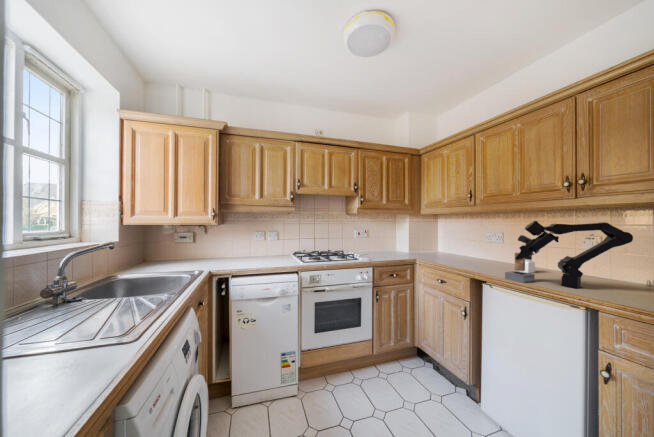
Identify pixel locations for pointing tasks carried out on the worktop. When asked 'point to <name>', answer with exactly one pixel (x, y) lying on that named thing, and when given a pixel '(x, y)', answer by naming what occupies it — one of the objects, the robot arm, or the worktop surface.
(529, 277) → the well block
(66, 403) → the worktop surface
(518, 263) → the brown tall square block
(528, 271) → the medicine bottle
